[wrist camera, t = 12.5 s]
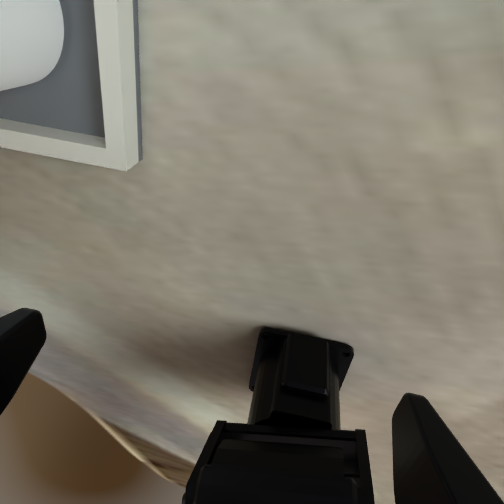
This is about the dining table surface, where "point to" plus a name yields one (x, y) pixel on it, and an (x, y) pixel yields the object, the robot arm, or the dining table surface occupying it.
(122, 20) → the square tray
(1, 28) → the can
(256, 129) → the dining table surface
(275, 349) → the robot arm
